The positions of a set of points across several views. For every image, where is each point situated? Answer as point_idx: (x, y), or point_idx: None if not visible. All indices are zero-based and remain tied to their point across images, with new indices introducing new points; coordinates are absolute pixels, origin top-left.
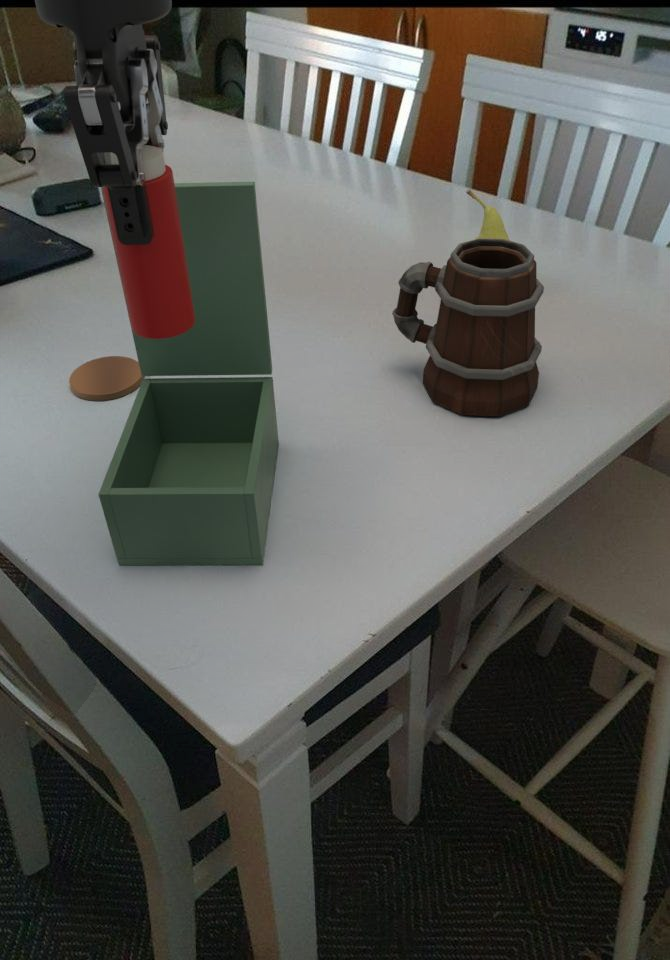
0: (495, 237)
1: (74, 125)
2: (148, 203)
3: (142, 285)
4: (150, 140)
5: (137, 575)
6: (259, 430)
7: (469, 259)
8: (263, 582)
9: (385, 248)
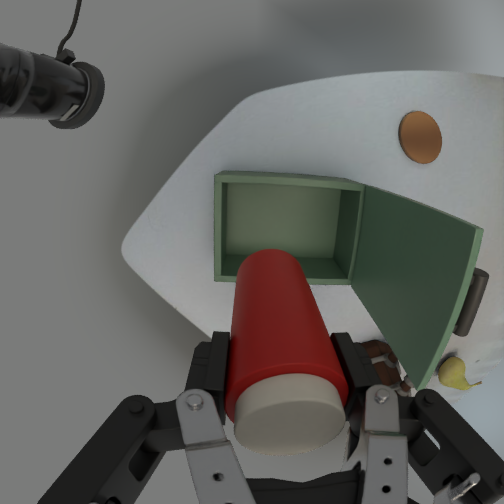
0: (454, 384)
1: (61, 477)
2: None
3: (233, 306)
4: (357, 434)
5: (213, 184)
6: None
7: None
8: (207, 258)
9: (496, 310)
